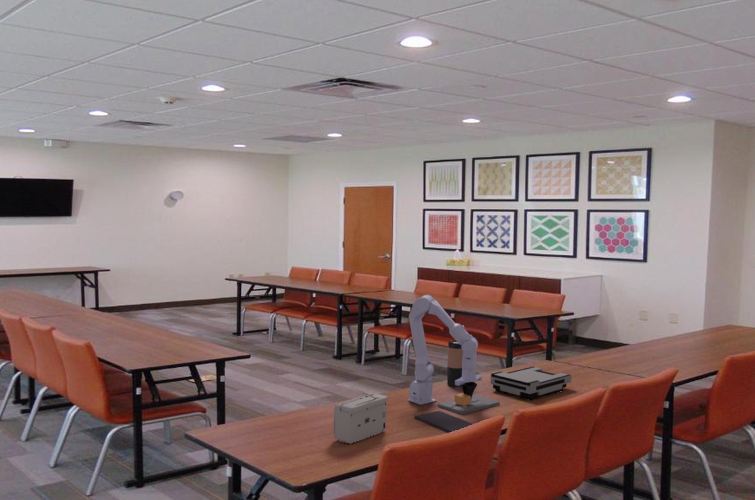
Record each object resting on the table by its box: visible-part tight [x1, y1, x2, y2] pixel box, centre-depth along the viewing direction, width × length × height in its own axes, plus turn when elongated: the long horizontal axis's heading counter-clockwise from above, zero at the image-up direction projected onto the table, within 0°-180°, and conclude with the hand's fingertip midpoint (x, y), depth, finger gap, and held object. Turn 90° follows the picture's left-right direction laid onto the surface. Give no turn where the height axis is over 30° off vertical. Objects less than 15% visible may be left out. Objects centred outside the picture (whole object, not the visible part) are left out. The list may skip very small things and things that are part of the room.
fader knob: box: [454, 392, 471, 406], centre depth 276 cm, size 4×5×3 cm
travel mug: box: [446, 339, 463, 388], centre depth 310 cm, size 8×8×20 cm
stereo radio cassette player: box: [333, 386, 389, 444], centre depth 237 cm, size 21×8×20 cm, turn 141°
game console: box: [490, 366, 572, 401], centre depth 305 cm, size 21×32×8 cm, turn 133°
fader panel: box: [437, 394, 500, 415], centre depth 279 cm, size 23×13×1 cm, turn 130°
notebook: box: [414, 410, 473, 433], centre depth 255 cm, size 13×2×21 cm
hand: (468, 400), depth 278 cm, fingers closed
